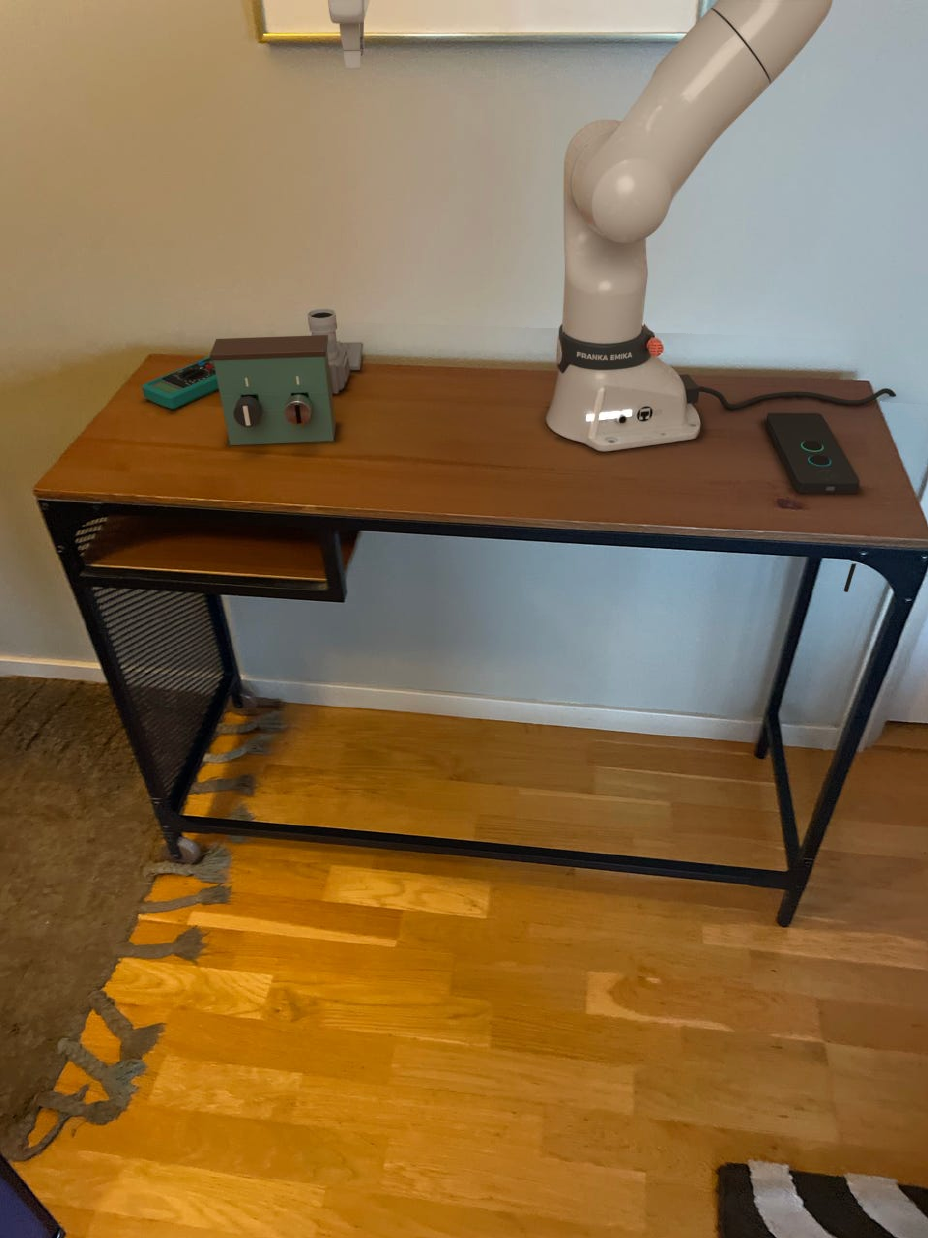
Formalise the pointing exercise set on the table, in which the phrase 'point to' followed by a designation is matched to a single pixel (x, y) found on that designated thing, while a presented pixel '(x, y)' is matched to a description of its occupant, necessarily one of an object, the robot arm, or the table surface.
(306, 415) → the steel knob
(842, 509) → the table surface
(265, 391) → the console
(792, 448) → the smart home device
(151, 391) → the digital multimeter
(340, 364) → the camera
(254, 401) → the black knob
